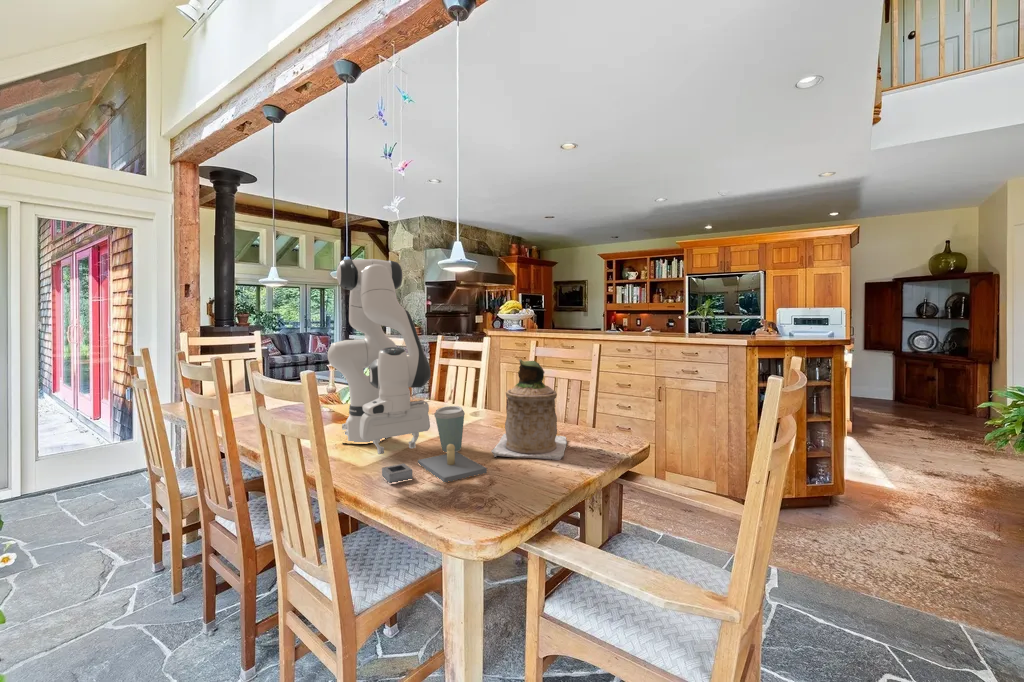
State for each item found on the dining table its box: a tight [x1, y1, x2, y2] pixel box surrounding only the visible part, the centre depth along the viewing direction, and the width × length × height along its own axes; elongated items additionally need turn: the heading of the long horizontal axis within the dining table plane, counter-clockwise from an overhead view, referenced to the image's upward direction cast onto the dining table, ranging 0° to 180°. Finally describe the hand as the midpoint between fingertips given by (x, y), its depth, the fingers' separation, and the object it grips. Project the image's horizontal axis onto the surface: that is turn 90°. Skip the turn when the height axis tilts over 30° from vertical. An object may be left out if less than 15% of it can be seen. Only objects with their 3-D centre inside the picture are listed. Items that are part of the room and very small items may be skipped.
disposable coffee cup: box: [434, 405, 465, 453], centre depth 164 cm, size 11×11×15 cm
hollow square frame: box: [381, 463, 414, 483], centre depth 137 cm, size 7×7×3 cm
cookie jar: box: [490, 359, 568, 461], centre depth 164 cm, size 25×25×32 cm
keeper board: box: [417, 444, 488, 483], centre depth 146 cm, size 20×14×8 cm
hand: (396, 450), depth 137 cm, fingers open, 8 cm apart
